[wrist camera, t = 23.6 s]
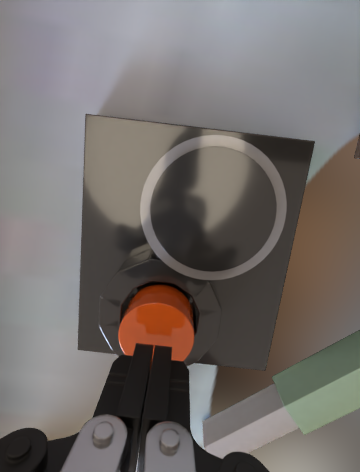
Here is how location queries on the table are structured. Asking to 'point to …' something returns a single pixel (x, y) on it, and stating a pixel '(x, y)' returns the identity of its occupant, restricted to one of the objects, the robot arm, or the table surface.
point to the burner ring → (213, 207)
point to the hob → (152, 267)
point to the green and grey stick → (291, 401)
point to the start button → (158, 321)
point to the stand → (357, 150)
